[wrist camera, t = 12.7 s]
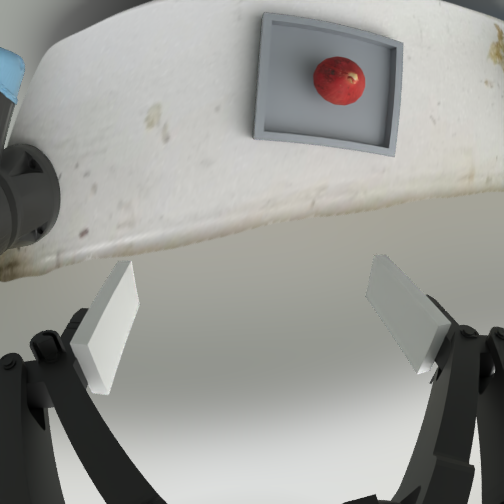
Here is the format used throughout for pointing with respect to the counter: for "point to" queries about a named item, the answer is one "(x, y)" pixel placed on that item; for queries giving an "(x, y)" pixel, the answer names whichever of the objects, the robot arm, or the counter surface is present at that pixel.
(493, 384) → the robot arm
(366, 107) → the tray
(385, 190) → the counter surface
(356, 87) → the onion
